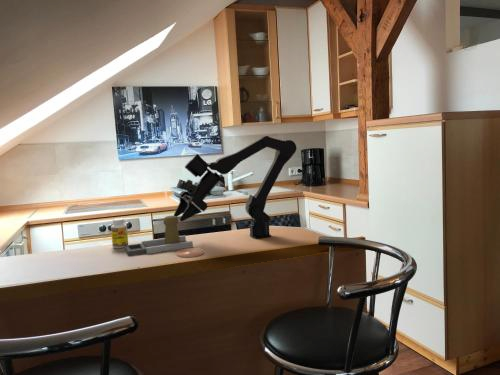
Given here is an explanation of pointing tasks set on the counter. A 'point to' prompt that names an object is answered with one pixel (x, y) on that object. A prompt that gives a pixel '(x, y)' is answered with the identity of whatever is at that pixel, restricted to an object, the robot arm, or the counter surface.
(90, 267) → the counter surface
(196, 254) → the coaster
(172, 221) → the cork
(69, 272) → the counter surface
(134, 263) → the counter surface
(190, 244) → the guide channel
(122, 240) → the supplement bottle
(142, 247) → the trap box
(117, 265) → the counter surface
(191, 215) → the robot arm
